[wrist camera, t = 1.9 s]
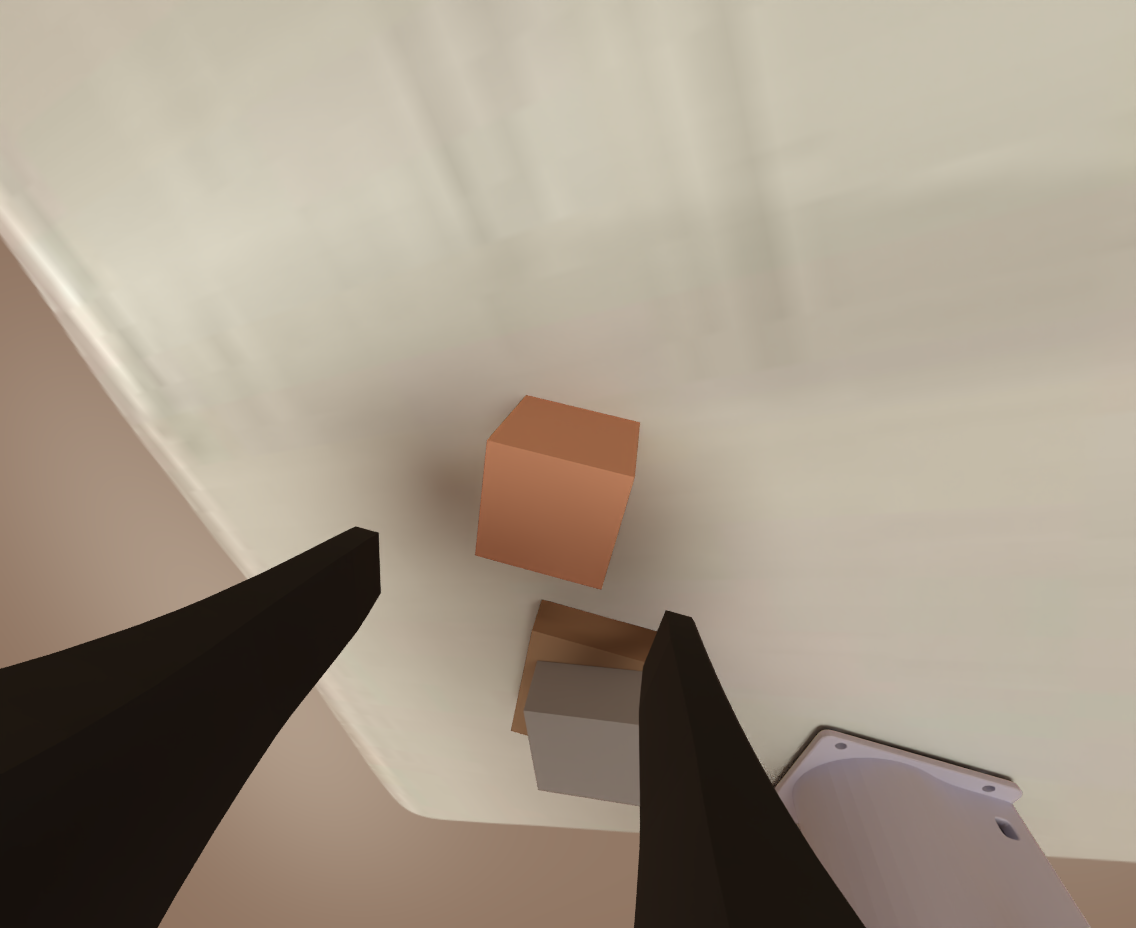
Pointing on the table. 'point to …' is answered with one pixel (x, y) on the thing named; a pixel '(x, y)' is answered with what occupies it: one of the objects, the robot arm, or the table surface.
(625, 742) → the grey slab
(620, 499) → the terracotta cube
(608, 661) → the walnut slab
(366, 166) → the table surface
